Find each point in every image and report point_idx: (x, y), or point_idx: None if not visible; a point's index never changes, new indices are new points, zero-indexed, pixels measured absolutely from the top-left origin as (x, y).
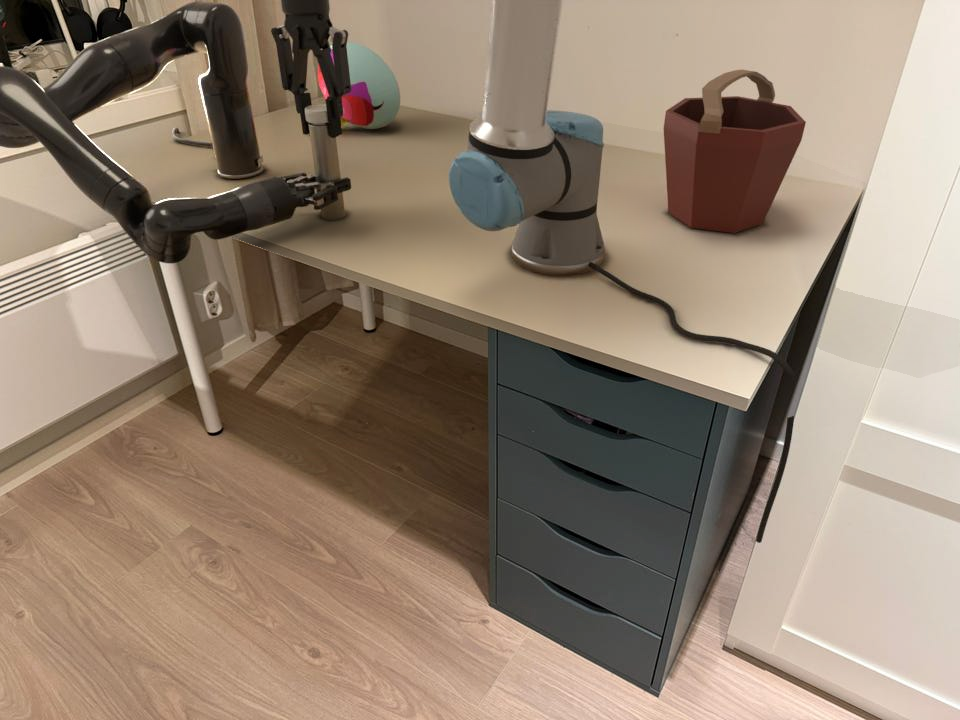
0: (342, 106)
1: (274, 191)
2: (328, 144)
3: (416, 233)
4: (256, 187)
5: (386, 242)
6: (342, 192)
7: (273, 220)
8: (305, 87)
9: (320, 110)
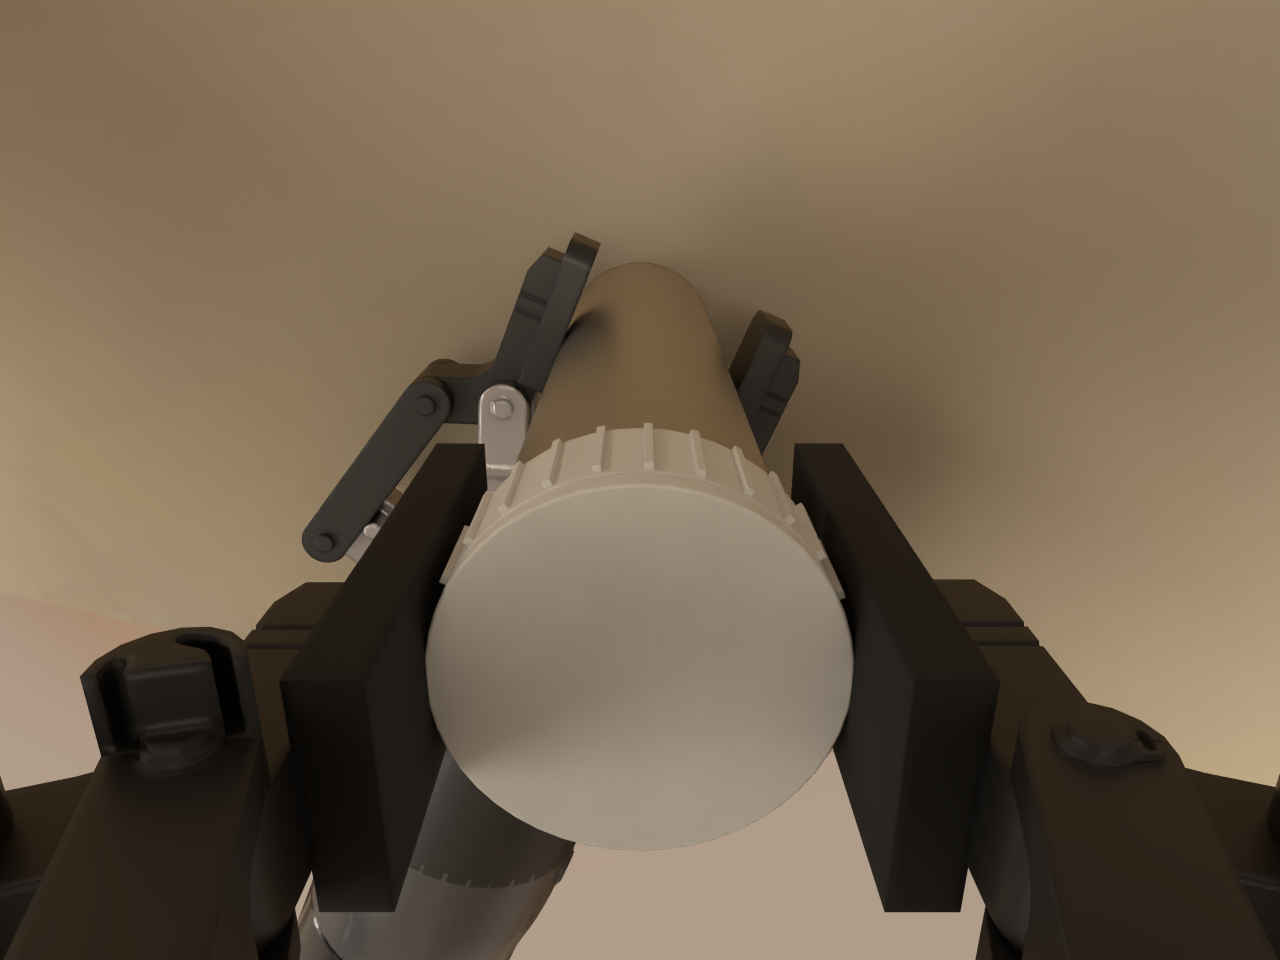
0: (1046, 656)
1: (558, 841)
2: None
3: (1195, 379)
4: (475, 911)
5: (1072, 527)
6: (710, 325)
7: None
8: (254, 772)
9: (739, 783)
